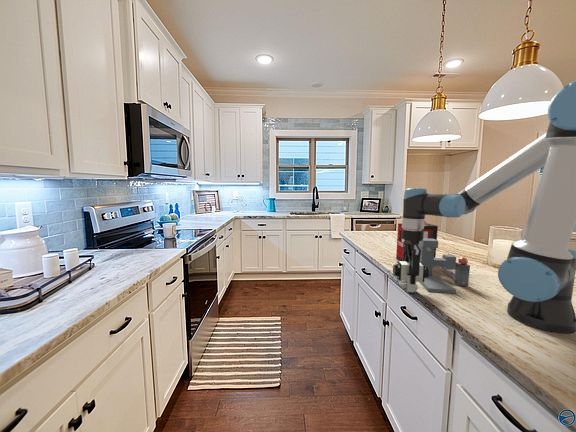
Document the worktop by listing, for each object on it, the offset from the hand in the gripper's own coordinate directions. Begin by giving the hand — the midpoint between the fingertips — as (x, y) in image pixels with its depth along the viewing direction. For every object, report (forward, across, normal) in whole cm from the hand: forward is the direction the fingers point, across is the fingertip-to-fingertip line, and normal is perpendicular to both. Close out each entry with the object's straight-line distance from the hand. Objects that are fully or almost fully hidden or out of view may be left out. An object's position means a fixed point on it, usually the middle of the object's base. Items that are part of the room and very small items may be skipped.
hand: (408, 288), depth 99 cm
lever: (+1, +18, -23) cm, 29 cm away
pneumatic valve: (+1, 0, 0) cm, 1 cm away
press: (+1, +12, -16) cm, 20 cm away
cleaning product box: (+1, +42, -15) cm, 45 cm away
